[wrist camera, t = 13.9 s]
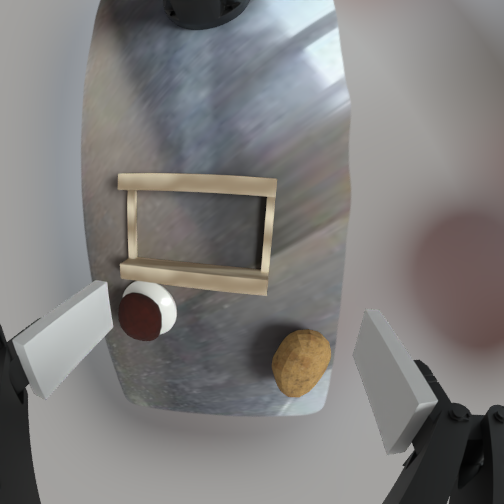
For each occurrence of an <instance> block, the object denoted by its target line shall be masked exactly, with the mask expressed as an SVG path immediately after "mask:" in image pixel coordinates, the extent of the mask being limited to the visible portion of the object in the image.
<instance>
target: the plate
mask: <svg viewBox="0 0 504 504" xmlns="http://www.w3.org/2000/svg"><path fill="white" fill-rule="evenodd" d="M132 292H135V293H141V294H144V295H146V296H148V297H150V298H151V299H153V300H154V301H155V302H156V303H157V304H158V306H159V308H160V311H161V314H162V328H161V331H160V334H163V333H165V332H167V331H169V330H170V329H171V328H172V326H173V325H174V323H175V321H176V318H177V306H176V303H175V300H174V298H173V297H172V295H171V294H170V292H169V291H168V290H167V289H166V288H165V287H163V286H162V285H161V284H157V283H150V282H143V281H135V282H133V283H131V284H130V285H129V286H128V287H127V288H126V290H125V291H124V294H123V297H124V296H125V295H126V294H129V293H132Z"/></svg>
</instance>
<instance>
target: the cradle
mask: <svg viewBox="0 0 504 504" xmlns="http://www.w3.org/2000/svg"><path fill="white" fill-rule="evenodd" d="M276 186H277V179H273V178H261V177H247V176H231V175H211V174H181V173H126V174H118V190H128V200H127V217H128V252H129V258H128V259H127V260H125V261H124V262H122V263H121V264H120V273H121V278H122V279H129V280H136V281H143V282H150V283H157V284H165V285H173V286H181V287H189V288H197V289H206V290H215V291H224V292H233V293H243V294H253V295H264V296H267V286H268V274H269V263H270V252H271V241H272V230H273V219H274V207H275V197H276ZM137 190H159V191H188V192H208V193H226V194H241V195H254V196H266V197H267V205H266V218H265V230H264V242H263V254H262V265H261V269H250V268H240V267H229V266H219V265H209V264H199V263H189V262H179V261H170V260H161V259H151V258H142V257H138V252H137Z"/></svg>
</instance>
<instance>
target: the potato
mask: <svg viewBox="0 0 504 504" xmlns="http://www.w3.org/2000/svg"><path fill="white" fill-rule="evenodd" d="M330 359H331V350H330V345H329V342H328V341H327V340H326V339H325V337H324V336H323V335H322V334H320V333H319V332H317V331H313V330H309V329H306V330H297V331H295V332H293V333H290V334H289V335H288V336H287V337H286V338H285V339H284V340H283V341H282V343H281V344H280V346H279V348H278V349H277V351H276V353H275V355H274V356H273V359H272V370H273V374H274V377H275V380H276V383H277V386H278V387H279V389H280V391H281V392H282V393H284V394H285V395H286V396H288V397H300V396H302V395H304V394H306V393H308V392H309V391H310V390H311V389H312V388H313V387H314V386H315V385H316V384H317V382H318V381H319V380H320V378H321V377H322V375H323V374H324V372H325V370H326V368H327V366H328V364H329V361H330Z"/></svg>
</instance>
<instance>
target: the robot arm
mask: <svg viewBox="0 0 504 504" xmlns="http://www.w3.org/2000/svg"><path fill="white" fill-rule="evenodd" d="M248 3H249V0H163V6H164V10H165V12H166V14H167V15H168V17H169V18H170V19H171V20H172V21H173V22H174V23H175V24H177V25H178V26H181V27H183V28H187V29H208V28H213V27H217V26H220V25H223V24H225V23H227V22H229V21H231V20H233V19H234V18H236V17H237V16H238V15H240V14H241V13H242V12H243V11H244V9H245V8H246V7H247V5H248ZM112 328H113V323H112V316H111V310H110V303H109V295H108V287H107V282H104V281H98V280H95V281H94V282H92V283H91V284H89V285H88V286H87V287H85V288H83V289H82V290H80V291H79V292H77V293H76V294H74V295H73V296H72V297H70V298H69V299H67V300H66V301H64V302H63V303H62V304H60V305H59V306H57V307H56V308H55V309H53V310H52V311H50V312H49V313H48V314H46V315H45V316H43V317H42V318H39V319H37V320H36V321H35V322H33V323H32V324H31V326H30V325H29V326H28V327H26V329H24V330H22V331H21V332H20V333H18V334H17V335H16V336H14V337H13V338H12V339H11V340H9V341H8V342H6V339H5V336H4V333H3V330H2V327H1V325H0V504H41V502H40V498H39V494H38V489H37V484H36V479H35V473H34V467H33V461H32V454H31V445H30V434H29V420H28V393H27V390H26V388H25V387H26V386H27V385H28V384H30V386H31V388H32V391H33V393H34V394H35V395H37V396H39V397H41V398H43V399H45V400H47V398H48V397H49V396H50V395H51V394H52V393H53V392H54V390H55V389H56V388H57V387H58V386H59V385H60V384H61V383H62V381H63V380H64V379H65V378H66V377H67V376H68V375H69V374H70V373H71V371H72V370H73V369H74V368H75V367H76V366H77V365H78V364H79V363H80V362H81V361H82V360H83V358H84V357H85V356H86V355H87V354H88V353H89V352H90V351H91V350H92V349H93V348H94V347H95V346H96V345H97V344H98V342H99V341H100V340H101V339H102V338H103V337H104V336H105V335H106V334H107V333H108V332H109V331H110V330H111V329H112ZM353 357H354V360H355V363H356V366H357V368H358V371H359V373H360V376H361V379H362V382H363V385H364V387H365V390H366V393H367V396H368V399H369V402H370V404H371V407H372V410H373V413H374V416H375V419H376V422H377V425H378V428H379V431H380V434H381V437H382V441H383V444H384V447H385V450H386V453H387V455H389V454H396V453H402V452H405V451H406V450H407V448H408V447H409V445H410V444H411V443H412V444H413V446H414V449H415V450H414V451H413V453H412V454H411V455H410V456H409V458H408V459H407V460H406V462H405V463H404V464H403V466H405V467H404V469H403V471H402V472H401V474H400V476H399V477H398V479H397V481H396V483H395V484H394V486H393V488H392V489H391V491H390V493H389V494H388V496H387V497H386V499H385V500H384V502H383V503H382V504H447V501H448V499H449V496H450V500H449V504H504V406H501V405H493V406H491V407H490V408H489V410H488V411H487V413H486V415H471V413H470V411H469V410H468V409H467V408H466V407H465V406H463V405H461V404H458V403H451V401H450V400H449V398H448V397H447V395H446V393H445V392H444V390H443V389H442V387H441V386H440V384H439V382H437V379H436V378H435V376H433V373H432V372H431V370H430V369H429V367H428V366H427V365H425V364H424V363H423V362H422V361H420V360H413V359H412V358H411V356H410V354H409V353H408V351H407V350H406V348H405V347H404V346H403V344H402V342H401V341H400V339H399V338H398V337H397V335H396V333H395V332H394V330H393V329H392V327H391V326H390V324H389V323H388V321H387V320H386V319H385V317H384V316H383V314H382V313H381V312H380V310H375V309H373V310H372V309H365V312H364V316H363V320H362V324H361V328H360V332H359V335H358V339H357V342H356V346H355V349H354V353H353Z"/></svg>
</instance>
